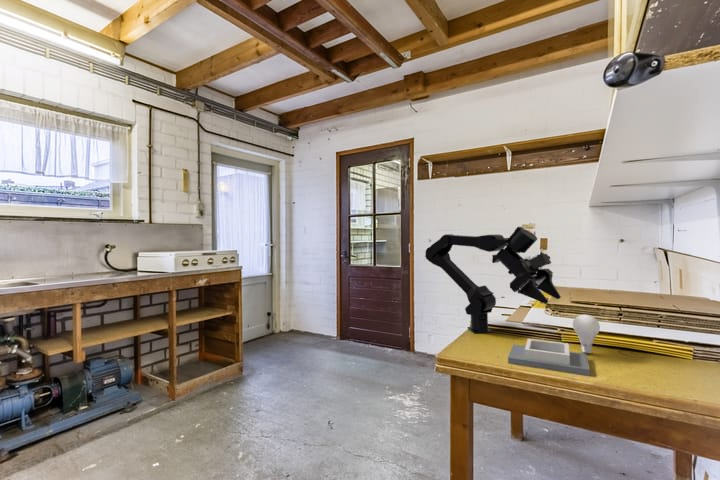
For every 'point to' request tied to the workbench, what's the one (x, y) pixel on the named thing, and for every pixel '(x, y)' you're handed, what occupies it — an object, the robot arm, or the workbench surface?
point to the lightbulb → (586, 331)
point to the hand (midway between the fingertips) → (553, 300)
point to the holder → (549, 357)
